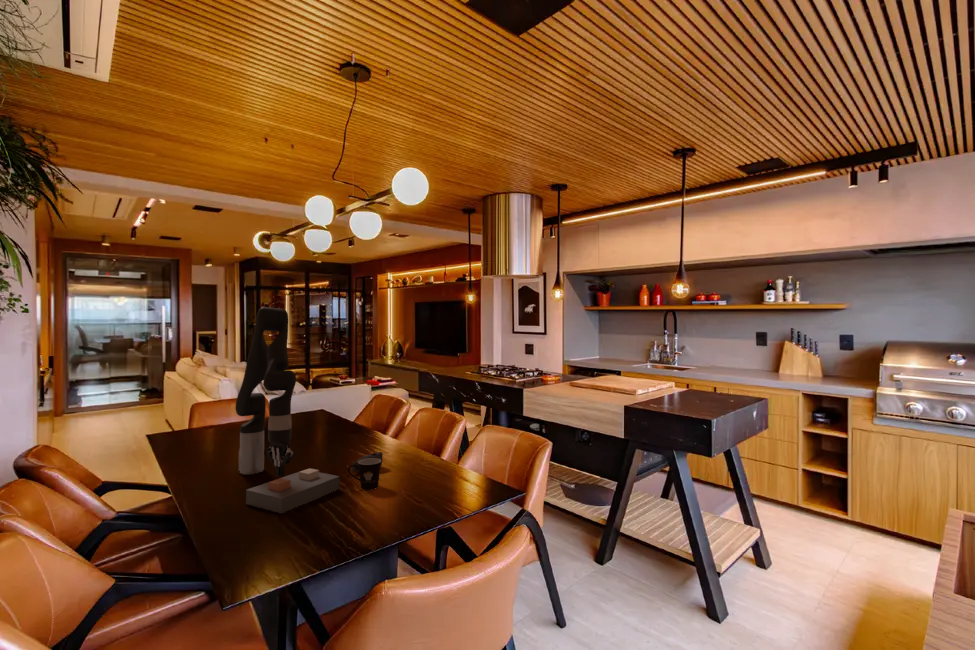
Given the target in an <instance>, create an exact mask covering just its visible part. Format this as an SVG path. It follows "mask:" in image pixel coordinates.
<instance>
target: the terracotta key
mask: <svg viewBox="0 0 975 650" xmlns="http://www.w3.org/2000/svg"><path fill="white" fill-rule="evenodd" d="M268 482H269V490H272V491H276V492H280V491H283V490H285V489H288V488H290V486H291V480H287V479H283V478H282V477H278V478H276V479H274V480H272V481H268Z"/></svg>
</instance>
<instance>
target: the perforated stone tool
mask: <svg viewBox="0 0 975 650" xmlns="http://www.w3.org/2000/svg"><path fill="white" fill-rule="evenodd" d="M383 455H384V454H383V452H382V451H379V452H373V453H370V454H366V455H364V456H362V457H359V458H358V459H356V460H355V461H354V462H353V463H352V465H356V466H358V461H360V460H362V459H368V458H376V459H380V460H381V465H380V469H381V468H382V465H383V462H384V461H383ZM351 468H352V471H353V472H354V473H355V474H356V473H358V474H359V470H358V469H357V468H356V467H354V466H353V467H351Z"/></svg>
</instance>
